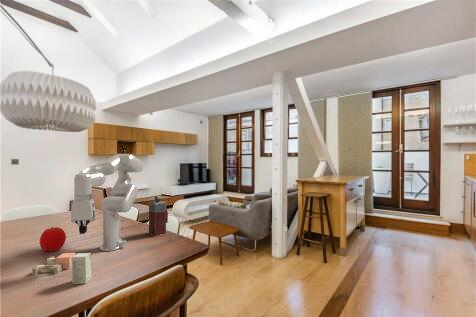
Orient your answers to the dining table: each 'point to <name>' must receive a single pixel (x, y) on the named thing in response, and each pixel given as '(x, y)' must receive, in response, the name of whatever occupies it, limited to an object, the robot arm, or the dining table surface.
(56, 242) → the tomato
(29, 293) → the dining table surface
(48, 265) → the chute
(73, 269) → the skincare box
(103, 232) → the robot arm
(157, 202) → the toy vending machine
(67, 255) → the block
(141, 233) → the dining table surface
